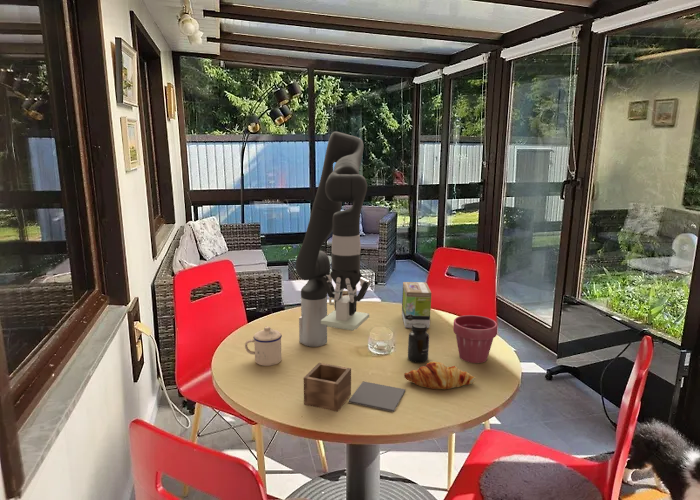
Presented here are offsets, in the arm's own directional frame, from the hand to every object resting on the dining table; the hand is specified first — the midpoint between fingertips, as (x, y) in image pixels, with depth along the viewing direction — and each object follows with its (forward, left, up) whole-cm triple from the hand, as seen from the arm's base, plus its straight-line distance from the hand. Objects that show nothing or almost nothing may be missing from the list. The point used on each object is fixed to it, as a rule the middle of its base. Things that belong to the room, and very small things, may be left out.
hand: (345, 313), depth 130 cm
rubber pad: (+8, +4, -25) cm, 27 cm away
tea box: (+4, +67, -26) cm, 72 cm away
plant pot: (+30, +41, -25) cm, 57 cm away
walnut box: (-4, -2, -25) cm, 26 cm away
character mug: (-22, +53, -25) cm, 63 cm away
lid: (0, 0, -3) cm, 3 cm away
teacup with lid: (-34, +13, -25) cm, 44 cm away
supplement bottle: (+13, +33, -25) cm, 44 cm away
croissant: (+23, +19, -26) cm, 39 cm away
